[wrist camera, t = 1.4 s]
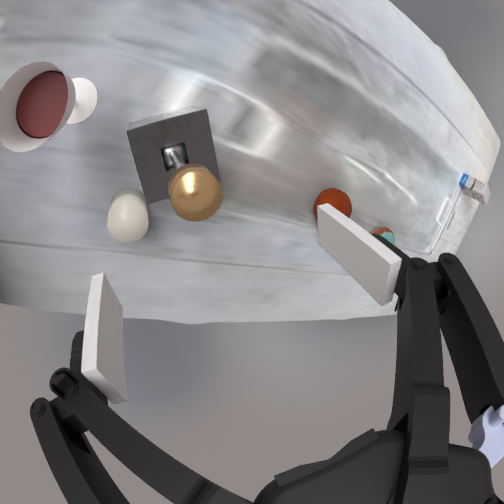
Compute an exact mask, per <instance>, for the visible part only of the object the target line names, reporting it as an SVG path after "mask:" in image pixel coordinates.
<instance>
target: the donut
mask: <svg viewBox="0 0 504 504" xmlns="http://www.w3.org/2000/svg"><path fill="white" fill-rule="evenodd" d="M373 233H375V234H378V235H380V236H383V237H384V238H385V239H387V240H388V241H389V242H391V243H392V244H393V245H394V242H395V238H394V234H393V232H392V231H391V230H390V229H389V228H386V227H379V228H376V229H375V230H373V231H372V232H371V233H370V234H373Z"/></svg>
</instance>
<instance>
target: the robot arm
mask: <svg viewBox="0 0 504 504" xmlns="http://www.w3.org/2000/svg"><path fill="white" fill-rule="evenodd" d="M317 212H318V244H319V245H320V246H321V247H322V248H323V249H324V250H325V251H326V252H328V253H329V254H330V255H331V256H332V257H333V258H334V259H335V260H336V261H337V262H338V263H339V264H340V265H341V266H342V267H343V268H344V269H345V270H346V271H347V272H348V273H349V274H350V275H351V276H352V277H353V278H354V279H355V280H356V281H357V282H358V283H359V284H360V285H361V286H362V287H363V288H364V289H365V290H366V291H367V292H368V293H369V294H370V295H371V296H372V297H373V298H374V299H375V300H376V302H377V303H378V304H379V305H380V306H383V305H385V304H387V303H389V302H391V301H392V298H393V295H394V292H395V293H396V294H397V295H398V300H397V303H396V307H395V310H394V311H396V310H397V357H396V374H395V387H394V397H393V406H392V413H391V417H390V419H389V422H388V425H387V430H381V431H376V432H375V431H374V429H370V430H369V431H367V432H365V433H364V434H362V435H360V436H358V437H357V438H355V439H353V440H351V441H350V442H349V443H348V444H347V445H346V446H344V447H343V448H342V449H341V450H340V451H339V452H337V453H336V454H335V455H334V456H333V457H332V458H330V459H328V460H324V461H320V462H315V463H310V464H306V465H300V466H297V467H295V468H293V469H290V470H288V471H285V472H283V473H280V474H278V475H275V476H274V477H275V480H273V481H272V482H270V483H269V484H268V485H266V486H265V487H264V489H262V490H261V492H260V493H259V494H258V496H257V497H256V499H255V501H254V503H253V502H251V501H248V500H246V499H244V498H242V497H240V496H238V495H236V494H234V493H232V492H230V491H228V490H226V489H224V488H222V487H220V486H219V485H217V484H215V483H213V482H211V481H210V480H208V479H206V478H205V477H203V476H201V475H200V474H198V473H196V472H194V471H193V470H191V469H190V468H188V467H187V466H185V465H183V464H182V463H180V462H179V461H177V460H176V459H174V458H173V457H172V456H170V455H169V454H167V453H166V452H164V451H163V450H161V449H160V448H159V447H157V446H156V445H155V444H153V443H152V442H151V441H149V440H148V439H147V438H145V437H144V436H143V435H142V434H140V433H139V432H138V431H137V430H135V429H134V428H133V427H131V426H130V425H129V424H128V423H127V422H126V421H124V420H123V419H122V418H121V417H120V416H118V415H117V414H116V413H115V412H114V411H113V410H112V409H111V408H110V407H108V401H107V399H108V400H110V401H111V402H112V403H113V404H116V403H121V402H125V401H127V392H126V382H125V368H124V353H123V352H124V351H123V307H122V305H121V304H120V302H119V300H118V298H117V296H116V295H115V293H114V291H113V289H112V287H111V285H110V283H109V282H108V280H107V278H106V276H105V274H104V272H103V273H100V274H97V275H94V276H92V281H91V286H90V292H89V299H88V306H87V313H86V321H85V329H84V330H83V331H80V332H77V333H76V335H75V337H74V339H73V342H72V351H71V359H70V369H68V368H60V369H58V370H57V371H55V372H54V374H53V375H52V377H51V379H50V388H51V390H52V391H53V392H54V393H55V394H56V395H57V396H58V397H57V398H55V399H53V400H52V401H50V402H49V401H48V400H47V399H45V398H38V399H36V400H35V401H34V402H33V403H32V405H31V409H30V416H31V419H32V422H33V425H34V428H35V431H36V434H37V437H38V440H39V442H40V445H41V447H42V450H43V452H44V455H45V457H46V459H47V462H48V464H49V466H50V469H51V471H52V473H53V475H54V477H55V479H56V481H57V483H58V485H59V487H60V489H61V491H62V493H63V494H64V497H65V498H66V500H67V502H68V504H130V503H129V502H128V501H127V499H126V498H125V497H124V495H123V494H122V493H121V491H120V490H119V489H118V487H117V486H116V484H115V483H114V481H113V480H112V478H111V477H110V475H109V474H108V472H107V471H106V469H105V468H104V467H103V465H102V463H101V461H100V460H99V458H98V456H97V455H96V453H95V451H94V450H93V448H92V446H91V445H90V443H89V441H88V439H87V437H86V436H85V434H84V432H86V431H88V430H89V431H90V432H91V433H92V434H93V435H94V436H95V437H96V438H97V439H98V440H99V441H100V443H101V444H102V445H104V446H105V447H106V448H107V449H108V450H109V451H110V452H111V453H112V454H113V455H114V456H115V457H116V458H117V459H118V460H119V461H121V462H122V463H123V464H124V465H125V466H126V467H127V468H129V469H130V470H131V471H132V472H133V473H134V474H135V475H137V476H138V477H139V478H140V479H142V480H143V481H144V482H146V483H147V484H148V485H149V486H150V487H152V488H153V489H154V490H156V491H157V492H158V493H160V494H161V495H163V496H164V497H165V498H167V499H168V500H170V501H171V502H173V503H174V504H504V502H503V501H501V500H500V499H499V498H498V497H497V496H496V494H495V492H494V489H493V485H492V478H491V468H492V467H493V466H494V465H495V464H496V463H497V462H498V461H499V460H500V459H501V458H502V457H503V456H504V342H503V340H502V338H501V335H500V333H499V331H498V329H497V327H496V325H495V323H494V321H493V319H492V316H491V315H490V313H489V311H488V309H487V307H486V305H485V303H484V301H483V299H482V297H481V296H480V294H479V292H478V290H477V288H476V287H475V285H474V283H473V282H472V280H471V278H470V277H469V275H468V273H467V272H466V270H465V268H464V267H463V265H462V263H461V262H460V260H459V259H458V258H457V257H456V256H455V255H453V254H451V253H442V254H441V255H440V256H439V259H438V262H432V263H428V262H427V261H425V260H424V259H421V258H410V257H409V256H407V255H406V254H405V253H403V252H402V251H401V250H400V249H398V248H397V247H396V246H394V245H393V244H392V243H391V242H389V241H388V240H387V239H385V238H384V237H383V236H380V235H378V234H375V233H373V234H369V233H368V232H367V231H365V230H364V229H363V228H361V227H360V226H359V225H357V224H356V223H355V222H353V221H352V220H351V219H349V218H348V217H347V216H345V215H344V214H342V213H341V212H340V211H338V210H337V209H335V208H334V207H333V206H331V205H330V204H328V203H326V204H323V205H319V206H317ZM440 328H441V331H442V333H443V336H444V339H445V342H446V345H447V347H448V350H449V353H450V356H451V359H452V363H453V365H454V369H455V372H456V376H457V379H458V382H459V386H460V390H461V393H462V397H463V401H464V405H465V408H466V412H467V415H468V417H469V420H470V422H471V424H472V427H471V432H470V433H469V436H468V438H469V441H470V442H471V443H473V447H472V448H470V447H464V446H460V445H455V444H450V443H449V429H450V390H449V388H447V387H445V386H444V379H443V378H444V377H443V357H442V344H441V333H440Z"/></svg>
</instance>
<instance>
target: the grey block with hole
mask: <svg viewBox="0 0 504 504" xmlns="http://www.w3.org/2000/svg"><path fill="white" fill-rule="evenodd" d="M127 135H128V139H129V143H130V147H131V150H132V154H133V157H134V161H135V164H136V168H137V171H138V175H139V178H140V181H141V185H142V188H143V191H144V194H145V197H146V201H147V204H151V203H154V202H157V201H160V200H163V199H166V198H170V196H169V192H168V182H169V179H170V177H171V175H172V174H173V172H174V171H175V168H171V169H168V170H166V169H165V165H164V161H163V157H162V153H161V149H162V148H166V147H169V146H172V145H176V144H180V143H183V142H184V144H185V149H186V153H187V158H188V162H189V163H188V164H190V163H196V164H200V165H202V166H204V167H206V168H207V169H208V170H209V171H210V172H211V173H212V174H213V176H214V177H215V178H216V179H217V180H218V181H219V183H220V182H221V181H220V176H219V171H218V166H217V160H216V155H215V150H214V145H213V140H212V134H211V129H210V124H209V118H208V113H207V109H204V108H199V107H194V106H191V107H187V108H183V109H179V110H175V111H171V112H167V113H164V114H160V115H156V116H153V117H150V118H146V119H143V120H140V121H137V122H133V123H130V125H129V127H128V129H127Z"/></svg>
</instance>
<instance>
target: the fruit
mask: <svg viewBox="0 0 504 504" xmlns="http://www.w3.org/2000/svg"><path fill="white" fill-rule="evenodd" d="M326 203H328V204H330V205H331V206H333V207H334V208H335V209H337V210H338V211H340V212H341V213H342V214H344V215H345V216H347V217H348V218H349V217H350V215H351V212H352V205H351V201H350V199H349V197H348V195H347V194H346V193H344V192H342V191H340V190H338V189H334V188H332V189H328V190H325V191H323V192H322V193H321V194H320V195H319V197H318V198H317V200H316V203H315V207H314V212H315V216H316V219H317V220H318V212H317V206H319V205H323V204H326Z"/></svg>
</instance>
